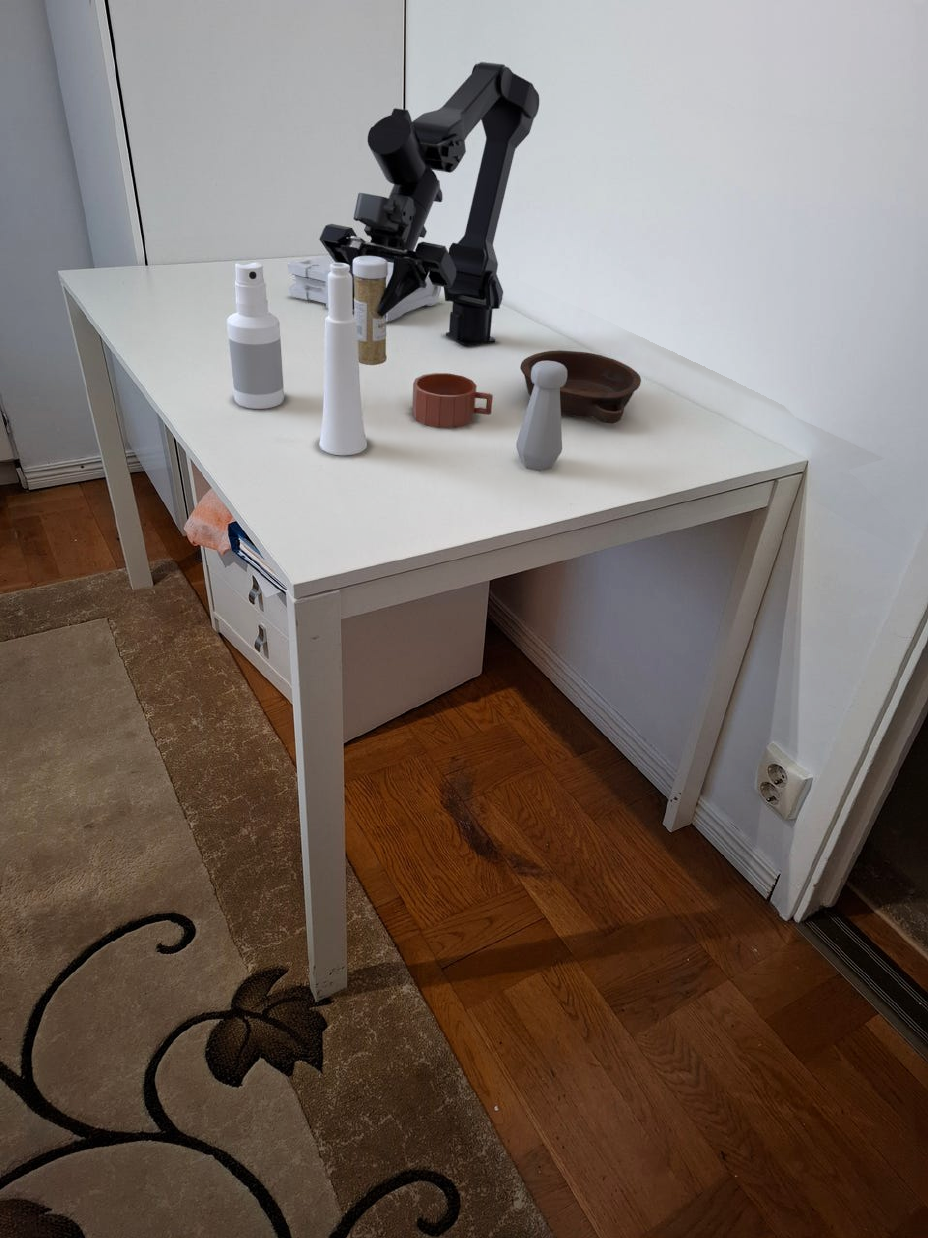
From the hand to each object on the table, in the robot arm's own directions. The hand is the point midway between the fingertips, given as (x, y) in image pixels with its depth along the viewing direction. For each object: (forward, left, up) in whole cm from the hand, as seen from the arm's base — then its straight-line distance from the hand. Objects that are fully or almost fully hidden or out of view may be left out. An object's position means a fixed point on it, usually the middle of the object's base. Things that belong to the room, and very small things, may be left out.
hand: (364, 311), depth 110 cm
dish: (-29, +13, -13) cm, 34 cm away
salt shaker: (-11, +27, -13) cm, 32 cm away
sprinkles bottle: (-1, -1, -7) cm, 7 cm away
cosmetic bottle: (+9, +12, -13) cm, 20 cm away
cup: (-9, +10, -13) cm, 18 cm away
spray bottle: (+13, -6, -13) cm, 19 cm away
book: (-22, -45, -13) cm, 52 cm away
